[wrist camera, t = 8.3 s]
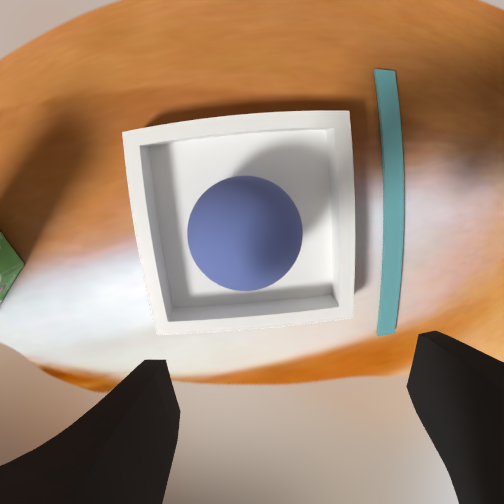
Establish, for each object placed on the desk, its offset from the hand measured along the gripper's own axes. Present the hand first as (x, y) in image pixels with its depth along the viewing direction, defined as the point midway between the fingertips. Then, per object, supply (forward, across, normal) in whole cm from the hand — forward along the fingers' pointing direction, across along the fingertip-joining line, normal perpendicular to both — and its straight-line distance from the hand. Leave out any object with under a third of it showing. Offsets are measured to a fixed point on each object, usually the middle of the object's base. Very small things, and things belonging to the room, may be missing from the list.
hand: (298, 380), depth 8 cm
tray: (+10, +1, -3) cm, 10 cm away
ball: (+7, +1, -3) cm, 7 cm away
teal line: (+10, -7, -3) cm, 12 cm away
